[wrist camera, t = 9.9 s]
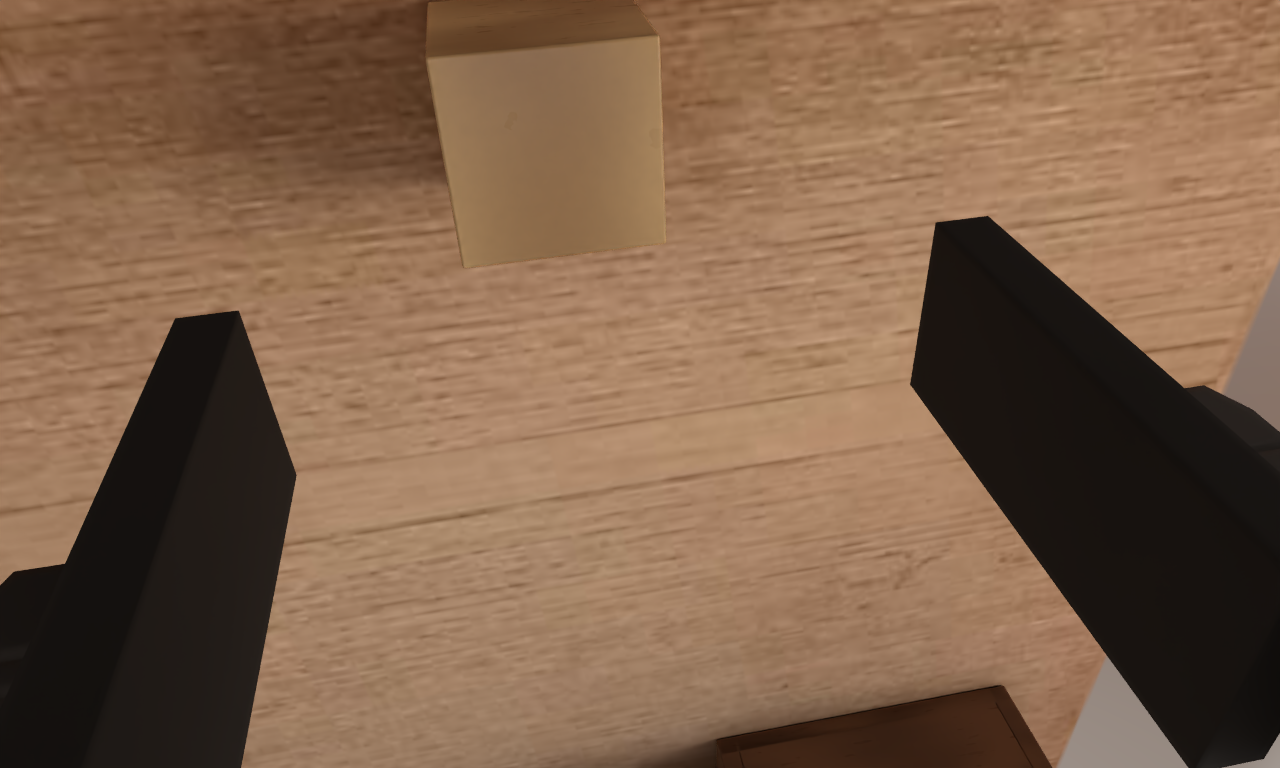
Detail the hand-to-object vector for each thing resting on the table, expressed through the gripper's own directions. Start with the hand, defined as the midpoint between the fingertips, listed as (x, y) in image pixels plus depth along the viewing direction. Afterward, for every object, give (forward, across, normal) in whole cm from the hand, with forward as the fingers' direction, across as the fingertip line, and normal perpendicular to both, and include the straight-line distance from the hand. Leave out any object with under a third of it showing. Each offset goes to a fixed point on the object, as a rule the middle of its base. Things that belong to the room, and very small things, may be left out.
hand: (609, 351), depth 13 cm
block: (+12, 0, 0) cm, 12 cm away
